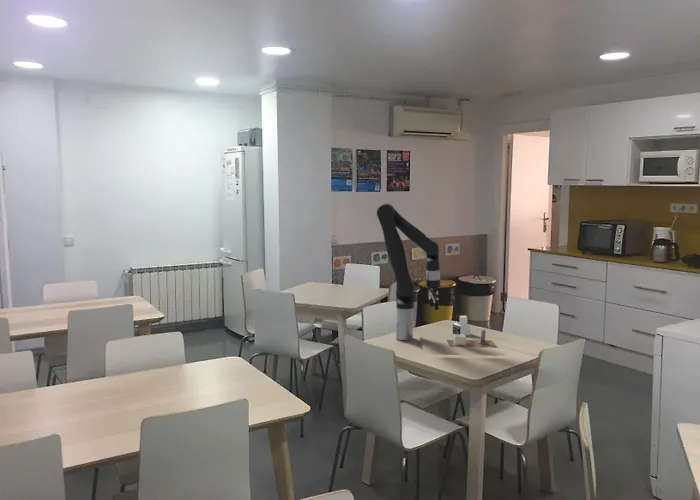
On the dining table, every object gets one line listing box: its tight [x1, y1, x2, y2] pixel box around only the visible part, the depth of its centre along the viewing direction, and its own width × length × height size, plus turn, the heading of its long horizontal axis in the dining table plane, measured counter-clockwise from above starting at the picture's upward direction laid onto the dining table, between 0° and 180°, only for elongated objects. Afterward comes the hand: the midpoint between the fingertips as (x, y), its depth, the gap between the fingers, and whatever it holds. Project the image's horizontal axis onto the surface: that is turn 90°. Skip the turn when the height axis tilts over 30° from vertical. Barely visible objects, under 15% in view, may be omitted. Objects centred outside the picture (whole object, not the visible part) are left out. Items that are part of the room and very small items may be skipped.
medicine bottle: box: [452, 314, 472, 336], centre depth 311 cm, size 7×7×12 cm
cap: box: [453, 334, 467, 345], centre depth 291 cm, size 6×6×4 cm
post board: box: [446, 329, 498, 349], centre depth 291 cm, size 24×14×8 cm, turn 87°
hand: (434, 308), depth 302 cm, fingers open, 8 cm apart
